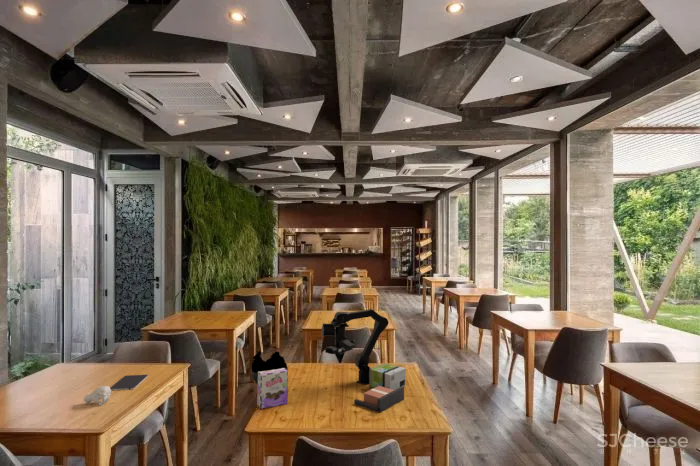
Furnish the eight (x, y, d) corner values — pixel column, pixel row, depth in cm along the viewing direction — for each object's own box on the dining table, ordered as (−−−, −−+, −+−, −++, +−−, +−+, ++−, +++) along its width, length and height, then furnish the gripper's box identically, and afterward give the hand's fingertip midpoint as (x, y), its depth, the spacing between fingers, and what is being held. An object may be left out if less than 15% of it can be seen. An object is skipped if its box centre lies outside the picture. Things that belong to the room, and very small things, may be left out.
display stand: (354, 404, 194) (354, 391, 194) (379, 391, 210) (379, 380, 210) (380, 412, 184) (380, 399, 184) (404, 399, 200) (404, 387, 200)
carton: (363, 403, 195) (363, 392, 195) (379, 395, 205) (379, 385, 205) (380, 408, 189) (380, 398, 189) (395, 400, 199) (395, 390, 199)
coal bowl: (295, 387, 216) (295, 352, 217) (263, 397, 202) (264, 360, 203) (274, 378, 231) (274, 346, 231) (243, 387, 216) (243, 352, 217)
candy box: (260, 409, 187) (260, 374, 188) (257, 405, 192) (257, 371, 193) (288, 404, 193) (288, 370, 194) (284, 400, 199) (284, 367, 199)
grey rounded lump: (104, 388, 191) (79, 390, 191) (106, 405, 191) (80, 408, 190) (112, 383, 197) (87, 385, 197) (113, 400, 197) (89, 403, 197)
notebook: (125, 378, 232) (108, 391, 211) (125, 375, 232) (108, 388, 211) (148, 377, 234) (134, 390, 213) (148, 374, 234) (134, 387, 213)
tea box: (390, 374, 208) (368, 368, 217) (390, 393, 207) (368, 387, 217) (406, 367, 219) (384, 362, 229) (406, 385, 219) (384, 380, 228)
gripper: (339, 340, 209) (339, 370, 209) (361, 334, 223) (361, 362, 223) (324, 337, 216) (324, 365, 216) (346, 331, 230) (346, 358, 230)
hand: (340, 363), depth 221 cm, fingers closed
